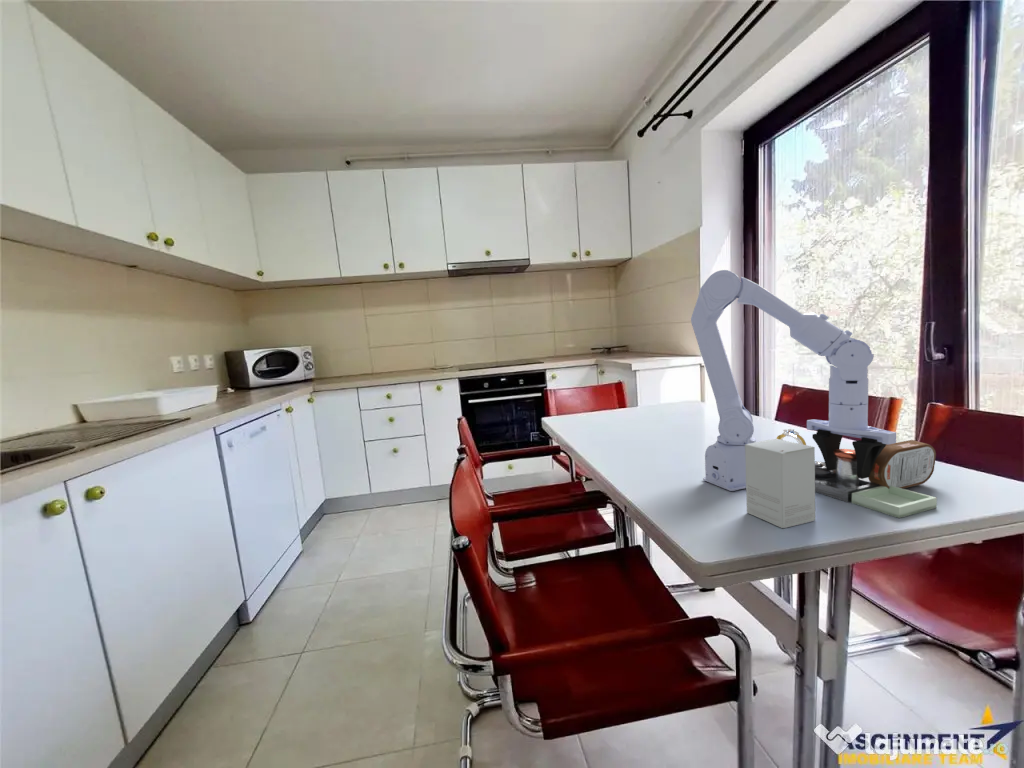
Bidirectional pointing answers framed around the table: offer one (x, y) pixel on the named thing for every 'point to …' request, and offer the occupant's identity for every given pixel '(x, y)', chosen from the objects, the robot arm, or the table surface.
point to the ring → (792, 434)
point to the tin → (903, 464)
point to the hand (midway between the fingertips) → (847, 473)
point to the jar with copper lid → (846, 468)
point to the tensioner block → (828, 486)
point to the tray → (894, 501)
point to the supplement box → (780, 482)
